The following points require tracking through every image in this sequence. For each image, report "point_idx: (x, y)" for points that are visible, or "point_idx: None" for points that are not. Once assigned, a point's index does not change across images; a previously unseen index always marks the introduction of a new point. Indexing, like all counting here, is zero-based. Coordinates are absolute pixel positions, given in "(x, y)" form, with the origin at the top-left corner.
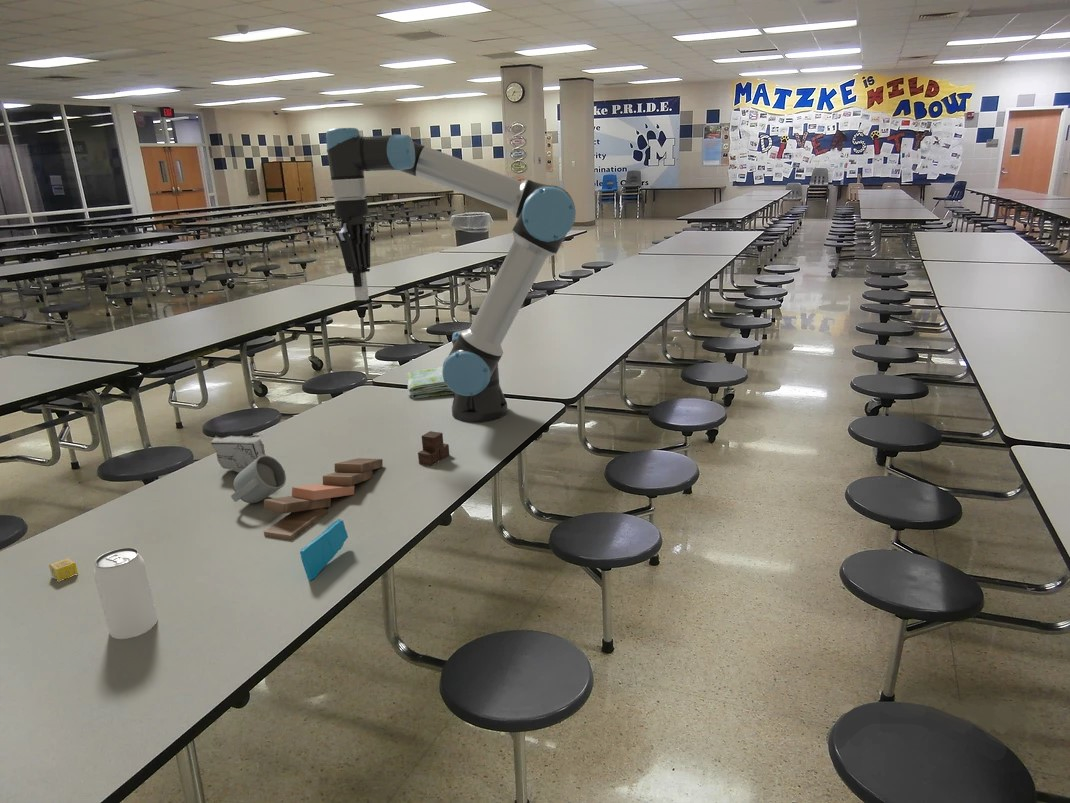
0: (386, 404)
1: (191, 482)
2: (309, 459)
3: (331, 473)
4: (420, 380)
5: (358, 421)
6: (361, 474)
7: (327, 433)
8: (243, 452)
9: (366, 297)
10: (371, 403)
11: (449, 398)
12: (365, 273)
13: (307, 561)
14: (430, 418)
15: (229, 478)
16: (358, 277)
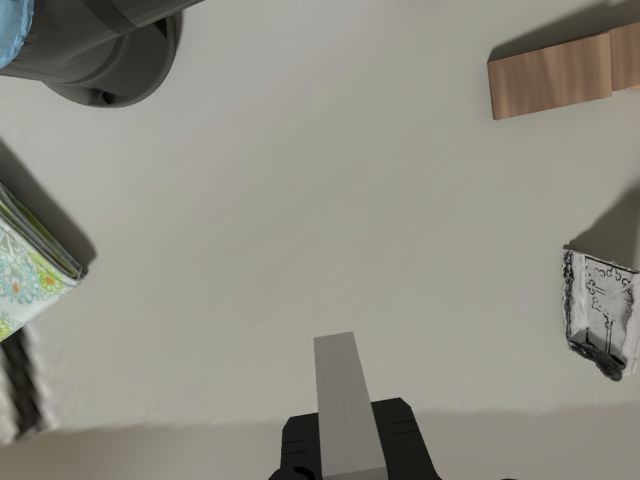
0: (146, 302)
1: None
2: (483, 239)
3: (626, 87)
4: (3, 294)
5: (268, 288)
6: (603, 31)
7: (352, 302)
8: (625, 298)
9: (343, 341)
10: (155, 339)
11: (37, 179)
12: (328, 467)
13: None
14: (190, 138)
15: None
16: (427, 452)
